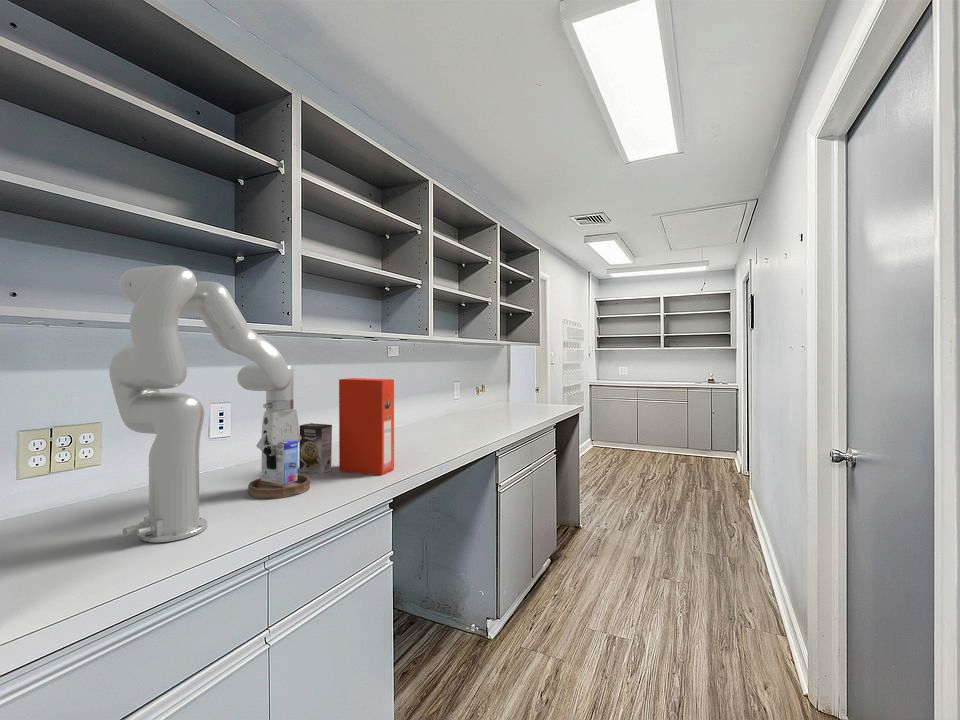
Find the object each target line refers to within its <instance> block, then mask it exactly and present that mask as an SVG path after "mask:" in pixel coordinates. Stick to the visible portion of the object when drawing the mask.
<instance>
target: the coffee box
mask: <svg viewBox="0 0 960 720" xmlns="http://www.w3.org/2000/svg"><path fill="white" fill-rule="evenodd" d="M299 434H300V436H301V437H302V439H301V440H300V441H299V442H298V445H299V446H298V447H299V448H298V453H299V455H298V458H299V459H298V461H299V462H298V464H299V465H298V466H299V467H298V470H299V471H298V472H301V473H309V474H316V475H318V474H319V475H321V474H324V473H327V472H329V471H332V452H333V451H332V448H333V447H332V444H333V425H332V424H328V423H327V424H326V423H325V424H323V423H312V422H311V423H304V424H301V425H300V424H299Z"/></svg>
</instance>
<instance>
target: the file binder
mask: <svg viewBox="0 0 960 720" xmlns="http://www.w3.org/2000/svg"><path fill="white" fill-rule="evenodd" d="M338 391H339V392H338V417H339V418H338V424H339V425H338V428H339V429H338V431H339V432H338V433H339V434H338V442H339V443H338V445H339V448H338V450H339V451H338V452H339V453H338V455H339V457H338V459H339V464H338V466H339V469H338V470H339V471H342V472H350V473H359V474H366V475H374V476H375V475H376V476H384V475H386V474H388V473H390V472H393V471H394V470H395V379H394V378H393V379H391V378H365V377H364V378H362V377H361V378H360V377H359V378H357V377H349V378H341V379H338Z"/></svg>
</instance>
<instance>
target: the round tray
mask: <svg viewBox="0 0 960 720" xmlns="http://www.w3.org/2000/svg"><path fill="white" fill-rule="evenodd" d="M310 486H311V477H310V476H308V475H305V474H300V473H298V481H296V482H292V483H288V484H284V485H282V484H276V483H271V482H266V481H261V477H259V478H256V479H253V480H252V481H250V482H249V483H248V486H247V488H248V490H247V491H248V495H249V496H250V497H251V498H255V499H260V500H262V499H263V500H274V499H275V500H276V499H284V498H290V497H294V496H298V495H302V494H304V493H306V492H307V491H309V490H310V489H311V487H310Z"/></svg>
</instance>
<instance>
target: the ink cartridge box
mask: <svg viewBox="0 0 960 720" xmlns="http://www.w3.org/2000/svg"><path fill="white" fill-rule="evenodd" d="M298 445H299V442H298V441H296V440H290V441H285V442H281V443H280V444H279V446H276V449H275V453H274V456H276V469H274V470H273V469H267V465H266V455H265V454H264V453H263V452H262V451H261V469H260V470H261V472H260V475H261V477H260V478H261V481H266V482H271V483H276V484H282V485H284V484H288V483H292V482H296V481H298V474H299V473H298V472H299V471H298V470H299V467H298V466H299V465H298V464H299V462H298V461H299V459H298V458H299V455H298V453H299V448H298V447H299V446H298ZM264 446H265V447H266V445H264ZM270 450H271V448H270Z"/></svg>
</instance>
